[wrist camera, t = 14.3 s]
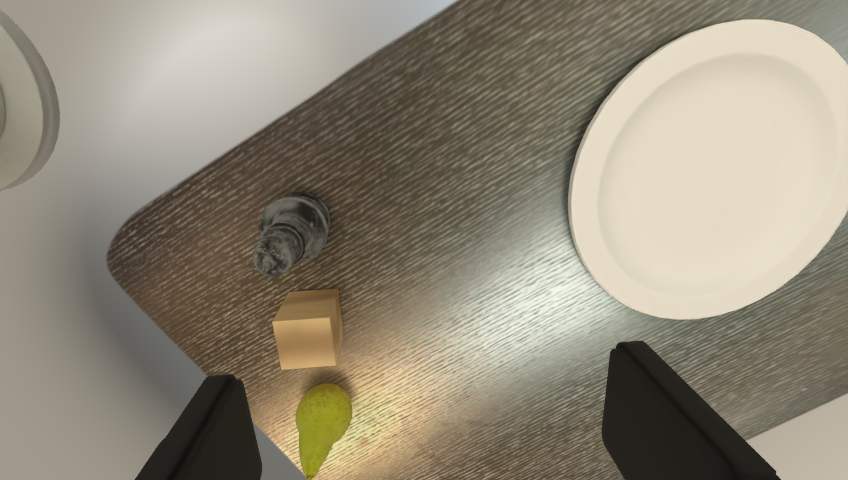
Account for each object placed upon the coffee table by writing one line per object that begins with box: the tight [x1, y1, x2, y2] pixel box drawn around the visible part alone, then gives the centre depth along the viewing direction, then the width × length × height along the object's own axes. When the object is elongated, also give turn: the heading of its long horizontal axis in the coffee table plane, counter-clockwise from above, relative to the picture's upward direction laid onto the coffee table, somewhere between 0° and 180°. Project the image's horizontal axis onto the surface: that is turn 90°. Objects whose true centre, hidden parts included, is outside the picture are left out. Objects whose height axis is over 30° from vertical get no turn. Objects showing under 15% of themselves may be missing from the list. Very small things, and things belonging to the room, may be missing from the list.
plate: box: [568, 19, 848, 320], centre depth 40 cm, size 28×28×2 cm
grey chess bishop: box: [253, 192, 331, 277], centre depth 34 cm, size 6×6×12 cm
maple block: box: [272, 288, 344, 370], centre depth 40 cm, size 5×5×6 cm
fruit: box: [296, 383, 352, 480], centre depth 41 cm, size 6×6×12 cm
